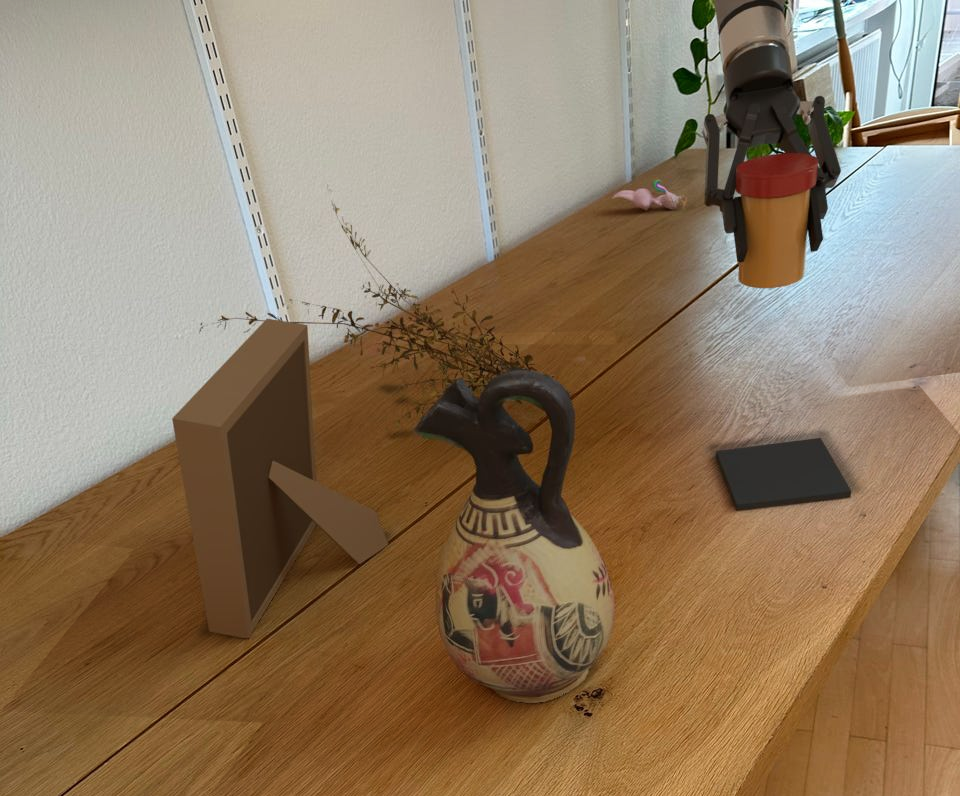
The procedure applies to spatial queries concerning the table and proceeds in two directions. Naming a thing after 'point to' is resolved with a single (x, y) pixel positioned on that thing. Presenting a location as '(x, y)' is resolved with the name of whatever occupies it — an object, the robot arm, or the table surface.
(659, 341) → the table surface
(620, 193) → the pink toy figure
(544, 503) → the ceramic jug
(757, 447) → the mat
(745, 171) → the lid
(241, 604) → the photo frame
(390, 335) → the dried plant
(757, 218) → the jar
